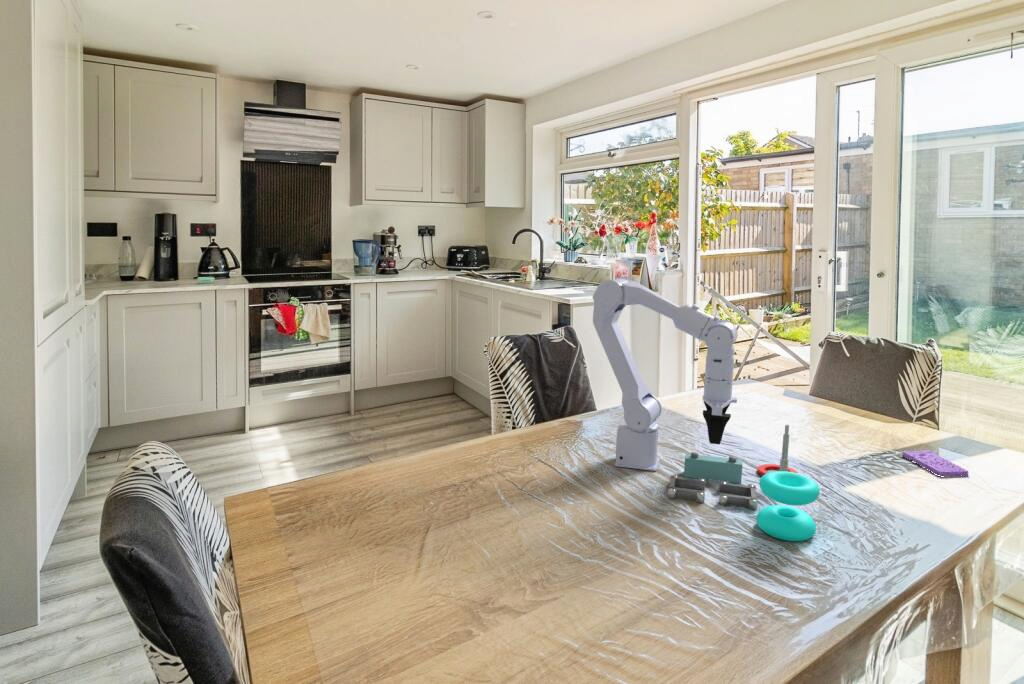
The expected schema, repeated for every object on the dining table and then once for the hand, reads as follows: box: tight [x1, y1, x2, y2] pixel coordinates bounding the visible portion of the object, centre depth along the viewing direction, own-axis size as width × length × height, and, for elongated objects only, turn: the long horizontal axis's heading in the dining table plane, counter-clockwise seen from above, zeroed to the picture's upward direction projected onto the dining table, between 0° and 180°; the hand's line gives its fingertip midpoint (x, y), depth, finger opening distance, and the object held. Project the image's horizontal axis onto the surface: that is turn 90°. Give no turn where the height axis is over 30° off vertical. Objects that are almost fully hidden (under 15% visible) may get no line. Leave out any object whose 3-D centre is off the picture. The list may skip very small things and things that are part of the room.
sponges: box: [901, 449, 969, 477], centre depth 143 cm, size 7×13×2 cm, turn 3°
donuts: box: [756, 470, 820, 542], centre depth 112 cm, size 10×10×10 cm
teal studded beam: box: [683, 451, 743, 484], centre depth 136 cm, size 12×3×5 cm, turn 72°
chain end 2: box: [718, 481, 759, 511], centre depth 126 cm, size 7×9×2 cm
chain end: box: [667, 474, 706, 504], centre depth 129 cm, size 7×9×2 cm
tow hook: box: [757, 424, 799, 477], centre depth 137 cm, size 8×13×9 cm
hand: (714, 437), depth 135 cm, fingers open, 7 cm apart
